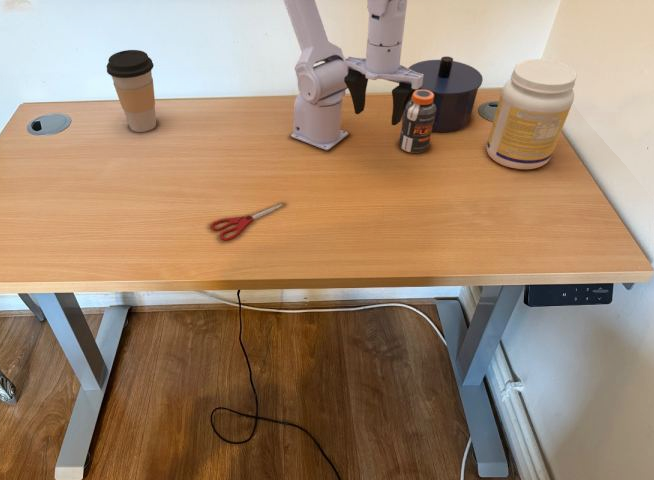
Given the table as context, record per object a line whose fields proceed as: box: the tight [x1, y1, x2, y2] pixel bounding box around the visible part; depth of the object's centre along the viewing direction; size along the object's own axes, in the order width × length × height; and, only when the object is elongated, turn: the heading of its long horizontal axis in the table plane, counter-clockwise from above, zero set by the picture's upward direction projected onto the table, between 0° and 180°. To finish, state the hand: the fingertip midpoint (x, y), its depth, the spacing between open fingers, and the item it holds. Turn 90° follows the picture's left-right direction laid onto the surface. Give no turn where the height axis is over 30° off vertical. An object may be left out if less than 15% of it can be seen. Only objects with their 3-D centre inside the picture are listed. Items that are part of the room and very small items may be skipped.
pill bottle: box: [398, 90, 436, 154], centre depth 105 cm, size 6×6×11 cm
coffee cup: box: [106, 49, 157, 133], centre depth 113 cm, size 9×9×15 cm
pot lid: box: [407, 56, 484, 95], centre depth 110 cm, size 16×16×5 cm
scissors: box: [210, 203, 283, 242], centre depth 94 cm, size 5×14×1 cm, turn 124°
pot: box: [402, 88, 479, 134], centre depth 115 cm, size 15×15×8 cm
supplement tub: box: [485, 58, 578, 170], centre depth 100 cm, size 12×12×17 cm
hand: (377, 117), depth 97 cm, fingers open, 7 cm apart
